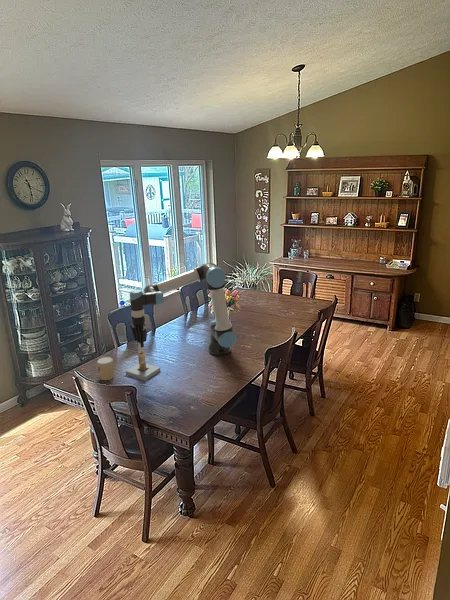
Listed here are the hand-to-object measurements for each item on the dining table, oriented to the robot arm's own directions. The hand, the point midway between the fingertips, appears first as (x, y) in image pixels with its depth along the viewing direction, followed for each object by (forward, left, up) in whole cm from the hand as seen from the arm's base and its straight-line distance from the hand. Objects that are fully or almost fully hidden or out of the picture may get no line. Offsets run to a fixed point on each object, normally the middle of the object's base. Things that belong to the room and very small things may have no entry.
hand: (141, 351), depth 249 cm
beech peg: (0, 0, -15) cm, 15 cm away
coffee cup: (+15, +16, -15) cm, 26 cm away
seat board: (0, 0, -15) cm, 15 cm away
